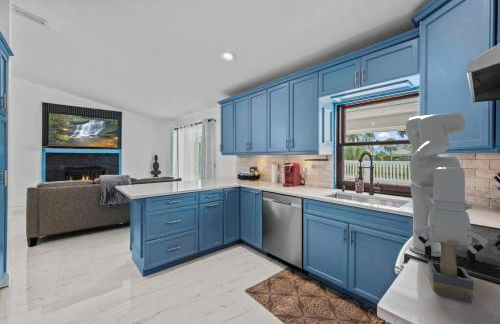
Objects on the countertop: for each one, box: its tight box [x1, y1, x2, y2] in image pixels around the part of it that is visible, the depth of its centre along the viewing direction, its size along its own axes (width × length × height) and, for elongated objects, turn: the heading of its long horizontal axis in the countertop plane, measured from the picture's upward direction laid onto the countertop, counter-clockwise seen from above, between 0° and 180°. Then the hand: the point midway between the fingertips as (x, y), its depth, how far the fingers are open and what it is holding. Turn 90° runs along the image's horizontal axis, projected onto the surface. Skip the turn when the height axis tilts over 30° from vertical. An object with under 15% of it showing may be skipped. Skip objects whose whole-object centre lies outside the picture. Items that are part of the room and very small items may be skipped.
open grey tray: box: [427, 260, 475, 304], centre depth 70 cm, size 16×9×5 cm, turn 148°
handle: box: [439, 240, 461, 277], centre depth 71 cm, size 5×6×15 cm
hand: (448, 261), depth 70 cm, fingers open, 9 cm apart
